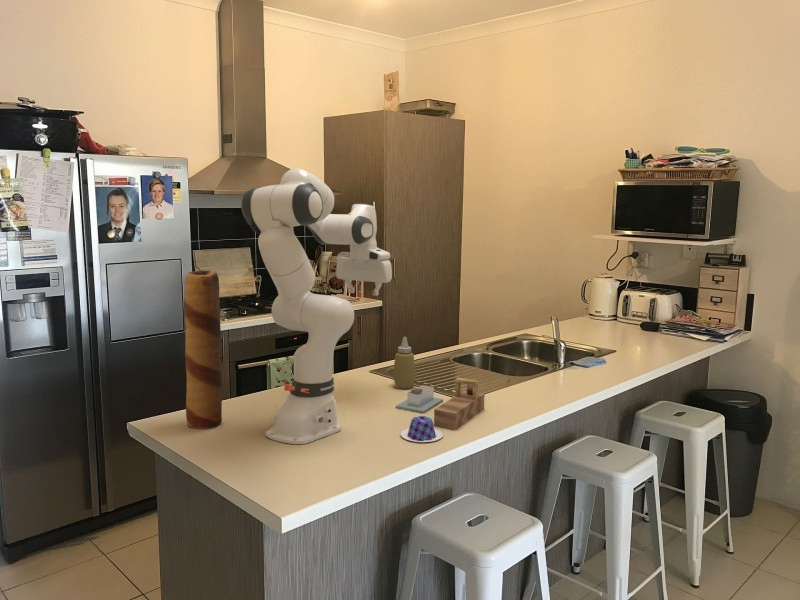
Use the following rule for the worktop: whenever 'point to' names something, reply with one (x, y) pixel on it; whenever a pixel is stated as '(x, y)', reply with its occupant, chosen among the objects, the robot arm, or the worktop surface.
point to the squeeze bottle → (404, 366)
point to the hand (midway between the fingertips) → (363, 294)
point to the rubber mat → (419, 409)
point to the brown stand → (460, 406)
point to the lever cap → (420, 395)
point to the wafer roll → (203, 349)
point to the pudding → (421, 430)
